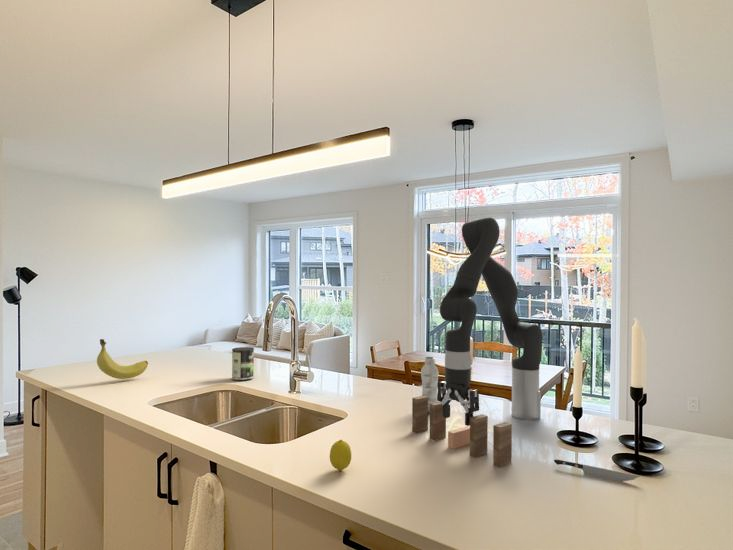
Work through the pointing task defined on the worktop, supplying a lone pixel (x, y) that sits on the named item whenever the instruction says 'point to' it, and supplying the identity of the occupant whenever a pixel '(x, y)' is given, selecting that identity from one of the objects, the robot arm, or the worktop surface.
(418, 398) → the domino
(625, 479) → the chef's knife
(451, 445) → the domino
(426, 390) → the plastic bottle
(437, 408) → the domino
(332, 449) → the lemon
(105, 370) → the banana
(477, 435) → the domino
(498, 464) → the domino
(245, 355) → the coffee can
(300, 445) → the worktop surface
